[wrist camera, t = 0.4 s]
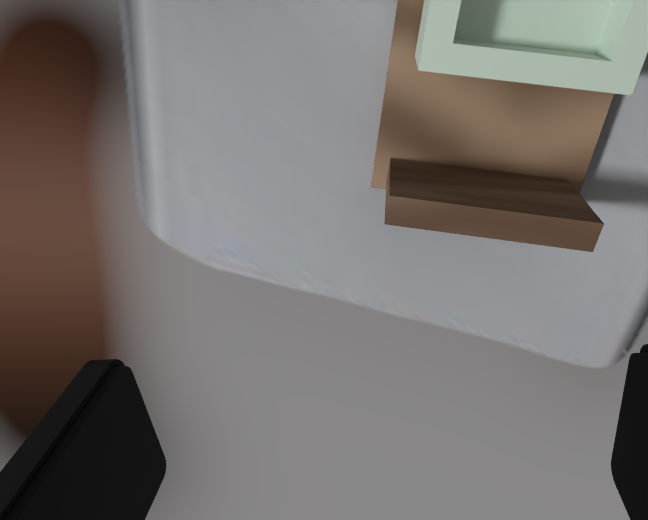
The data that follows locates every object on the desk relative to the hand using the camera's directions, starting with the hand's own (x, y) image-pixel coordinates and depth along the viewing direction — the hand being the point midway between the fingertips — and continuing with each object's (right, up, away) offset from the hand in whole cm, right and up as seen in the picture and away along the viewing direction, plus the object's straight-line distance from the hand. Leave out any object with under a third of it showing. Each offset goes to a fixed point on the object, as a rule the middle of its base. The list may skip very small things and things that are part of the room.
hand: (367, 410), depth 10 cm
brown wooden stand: (+11, +16, +23) cm, 30 cm away
